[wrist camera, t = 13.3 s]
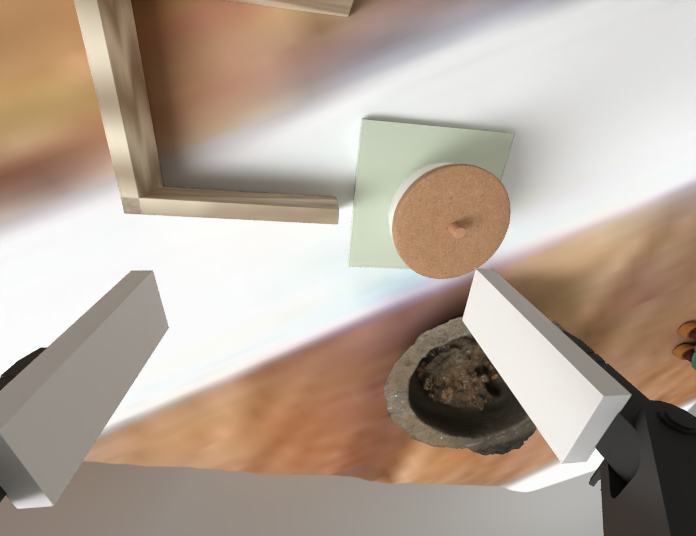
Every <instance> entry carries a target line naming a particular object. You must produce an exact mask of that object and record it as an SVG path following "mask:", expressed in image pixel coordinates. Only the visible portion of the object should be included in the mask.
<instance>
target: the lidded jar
mask: <svg viewBox="0 0 696 536" xmlns="http://www.w3.org/2000/svg"><path fill="white" fill-rule="evenodd" d="M509 221H510V202H509V198H508V194H507V192H506V190H505V188H504V186H503V185H502V183H501V182H500V180H499V179H498V178H497V177H496V176H494V175H493V174H492V173H490V172H489V171H487V170H486V169H483V168H480V167H478V166H475V165H470V164H464V163H457V162H438V163H433V164H429V165H426V166H423V167H421V168H419V169H417V170H415V171H414V172H412V173H411V174H410V175H408V176H407V177H406V178H405V179H404V180H403V181H402V182H401V183H400V185H399V186H398V187H397V189H396V191H395V192H394V194H393V197H392V199H391V202H390V206H389V212H388V225H389V230H390V234H391V238H392V240H393V242H394V245H395V248H396V250H397V252H398V254H399V256H400V257H401V259H402V260H403V261H404V263H405V264H406V265H407V266H408V267H409V268H410V269H412V270H413V271H415V272H416V273H418V274H421V275H423V276H426V277H430V278H436V279H448V278H453V277H458V276H461V275H464V274H467V273H469V272H471V271H473V270H474V269H476V268H478V267H479V266H481V265H482V264H483V263H485V262H486V261H487V260H488V259H489V258H490V257H491V256H492V255H493V254H494V253H495V251H496V250H497V249H498V247H499V246H500V244H501V243H502V241H503V239H504V237H505V234H506V232H507V229H508V225H509Z"/></svg>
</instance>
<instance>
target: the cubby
mask: <svg viewBox="0 0 696 536" xmlns="http://www.w3.org/2000/svg"><path fill="white" fill-rule="evenodd" d="M224 1H232V2H239V3H247V4H254V5H262V6H269V7H277V8H284V9H292V10H299V11H307V12H314V13H322V14H329V15H337V16H344V17H348V16H349V13H350V10H351V7H352V4H353V0H224ZM74 2H75V7H76V11H77V15H78V19H79V23H80V28H81V32H82V36H83V40H84V44H85V49H86V53H87V57H88V61H89V66H90V70H91V74H92V78H93V82H94V87H95V91H96V95H97V99H98V103H99V108H100V112H101V116H102V120H103V124H104V129H105V133H106V137H107V141H108V146H109V150H110V154H111V158H112V162H113V167H114V171H115V175H116V179H117V183H118V188H119V192H120V196H121V200H122V204H123V209H124V213H126V214H146V215H165V216H185V217H204V218H224V219H243V220H263V221H282V222H302V223H321V224H338V217H339V207H338V203H337V199H336V197H324V196H308V195H292V194H276V193H259V192H243V191H227V190H211V189H195V188H179V187H163V181H162V175H161V169H160V164H159V158H158V152H157V147H156V141H155V135H154V129H153V124H152V118H151V112H150V106H149V101H148V95H147V89H146V84H145V78H144V72H143V66H142V61H141V55H140V49H139V43H138V38H137V32H136V26H135V20H134V15H133V9H132V3H131V0H74Z"/></svg>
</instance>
